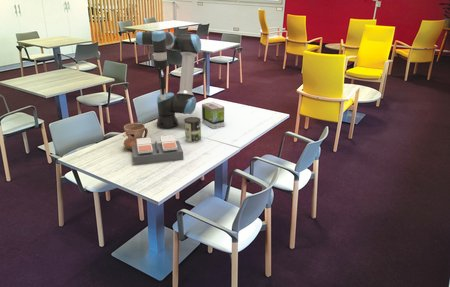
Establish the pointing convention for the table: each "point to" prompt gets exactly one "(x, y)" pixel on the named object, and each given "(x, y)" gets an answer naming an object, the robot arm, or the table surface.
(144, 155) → the breaker panel
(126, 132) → the ceramic jug
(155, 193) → the table surface
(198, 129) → the coffee can
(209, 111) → the tea box
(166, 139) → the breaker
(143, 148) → the breaker
